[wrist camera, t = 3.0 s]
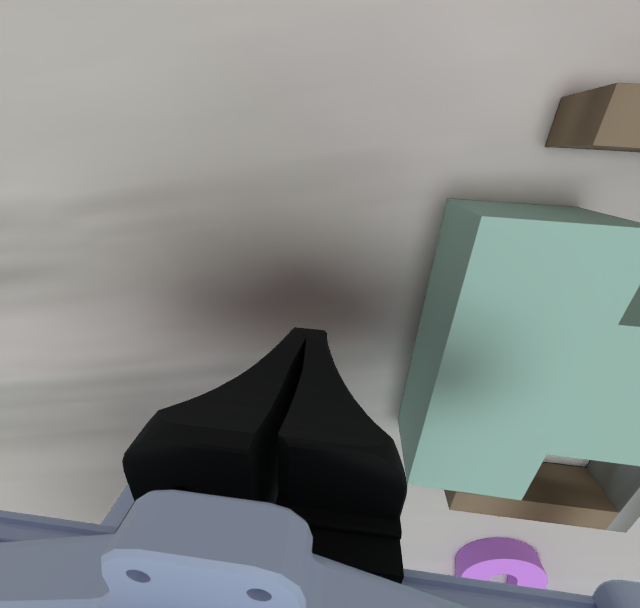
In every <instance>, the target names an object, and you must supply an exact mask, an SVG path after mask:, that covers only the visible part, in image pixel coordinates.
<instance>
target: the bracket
mask: <svg viewBox="0 0 640 608" xmlns="http://www.w3.org/2000/svg"><path fill="white" fill-rule="evenodd" d="M498 574H508V576H507V583H506V584H512V585H519V586H525V587H532V588H539V589H546V586H547V581H548V579H547V575H546V573H545V571H544V568H543V566H542V564H541V562H540V560H539V557H538V555H537V553H536V551H535V550H534V549H533V548H532V547H531V546H529V545H528V544H526V543H524V542H521V541H518V540H514V539H509V538H486V539H481V540H477V541H474V542H471V543H469V544H467V545H465V546H464V547H462V548H461V549H460V550H459V551H458V553H457V555H456V558H455V576H457V577H463V578H470V579H477V580H484V581H489V579H490V578H491V577H492V576H494V575H498Z"/></svg>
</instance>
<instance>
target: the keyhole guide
mask: <svg viewBox="0 0 640 608" xmlns="http://www.w3.org/2000/svg"><path fill="white" fill-rule="evenodd" d="M545 147H559V148H576V149H594V150H611V151H628V152H640V84H630V83H615V84H611V85H608V86H604V87H600V88H596V89H592V90H588V91H585V92H581V93H577V94H573V95H569V96H566V97H562V98H561V101H560V104H559V107H558V110H557V113H556V116H555V119H554V122H553V125H552V128H551V131H550V134H549V137H548V140H547V143H546V146H545ZM444 491H445V495H446V499H447V502H448V506H449V510H456V511H464V512H472V513H480V514H487V515H495V516H503V517H510V518H518V519H526V520H533V521H541V522H549V523H556V524H564V525H572V526H579V527H587V528H595V529H602V530H610V531H618V532H625V533H626V532H627V531H628V530H629V528H630V527H631V526H632V525H633V524H634V522H635V521H636V520H637V519H638V518H639V517H640V466H634V465H626V464H618V463H611V462H603V461H595V460H591V461H590V462H589V464H588V465H587V467H577V466H569V465H561V464H552V463H544V462H542V464H541V466H540V468H539V469H538V471H537V473H536V475H535V477H534V478H533V480H532V482H531V484H530V486H529V488H528V489H527V491H526V493H525V495H524V497H523V498H522V500H515V499H508V498H501V497H494V496H486V495H479V494H472V493H465V492H458V491H451V490H444Z"/></svg>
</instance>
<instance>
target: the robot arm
mask: <svg viewBox="0 0 640 608" xmlns="http://www.w3.org/2000/svg"><path fill="white" fill-rule="evenodd" d="M122 462H123V468H124V473H125V476H126V479H127V482H128V485H127V487H126V488H125V490H124V491H123V493H122V494H121V495H120V497H119V498H118V500H117V501H116V503H115V504H114V506H113V507H112V509H111V510H110V512H109V513H108V515H107V516H106V518H105V519H104V521H103V522H102V523H101V525H99V524H92V523H85V522H78V521H71V520H64V519H57V518H50V517H44V516H37V515H30V514H23V513H16V512H9V511H2V510H0V608H640V583H639V582H632V581H625V580H610V581H606V582H604V583H602V584H601V585H599V586H598V588H597V589H596V591H595V592H594V594H593V596H587V595H580V594H574V593H567V592H560V591H553V590H546V589H539V588H532V587H525V586H519V585H512V584H505V583H498V582H491V581H484V580H477V579H470V578H463V577H457V576H450V575H443V574H436V573H429V572H422V571H415V570H408V569H403V563H402V554H401V546H400V539H401V534H402V531H401V523H400V515H401V512H402V508H403V505H404V501H405V498H406V494H407V481H406V476H405V472H404V468H403V465H402V462H401V459H400V456H399V453H398V450H397V448H396V445H395V443H394V441H393V439H392V438H391V437H390V436H389V435H388V434H387V433H386V432H384V431H383V430H382V429H381V428H380V427H379V426H378V425H377V424H375V423H374V422H373V420H372V419H371V418H370V417H369V416H368V415H367V414H366V413H365V412H364V410H363V409H362V408H361V407H360V405H359V404H358V403H357V402H356V400H355V399H354V398H353V396H352V395H351V393H350V392H349V390H348V389H347V387H346V385H345V384H344V382H343V380H342V378H341V376H340V375H339V372H338V370H337V368H336V366H335V364H334V361H333V358H332V356H331V353H330V350H329V346H328V342H327V333H326V332H325V330H315V329H304V328H294V329H292V330H291V332H290V333H289V334H288V335H287V336H286V337H285V338H284V339H283V340H282V341H281V342H280V343H279V344H278V345H277V346H276V347H275V348H274V349H273V350H272V351H271V352H270V353H268V354H267V355H266V356H265V357H264V358H262V359H261V360H260V361H259V362H258V363H256V364H255V365H254V366H252V367H251V368H250V369H248V370H247V371H245V372H244V373H242V374H241V375H239V376H238V377H236V378H234V379H232V380H231V381H229V382H227V383H225V384H223V385H221V386H220V387H218V388H216V389H214V390H211V391H209V392H207V393H205V394H202V395H200V396H198V397H195V398H193V399H190V400H188V401H185V402H182V403H179V404H176V405H173V406H170V407H167V408H164V409H161V410H158V411H157V413H156V414H155V415H154V416H153V417H152V418H151V419H150V421H149V422H148V423H147V424H146V425H145V427H144V428H143V429H142V431H141V432H140V433H139V435H138V436H137V437H136V439H135V440H134V441H133V443H132V444H131V445H130V447H129V448H128V449H127V451H126V452H125V454H124V457H123V461H122Z"/></svg>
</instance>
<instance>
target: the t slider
mask: <svg viewBox="0 0 640 608" xmlns="http://www.w3.org/2000/svg"><path fill="white" fill-rule="evenodd" d="M639 285H640V223H639V222H635V221H631V220H627V219H623V218H619V217H615V216H611V215H607V214H603V213H599V212H595V211H591V210H587V209H583V208H579V207H565V206H550V205H536V204H521V203H507V202H492V201H478V200H463V199H449V198H448V199H447V203H446V207H445V212H444V216H443V221H442V225H441V230H440V234H439V239H438V243H437V247H436V252H435V256H434V261H433V265H432V270H431V274H430V279H429V283H428V287H427V292H426V296H425V301H424V305H423V310H422V314H421V319H420V323H419V327H418V332H417V336H416V341H415V345H414V350H413V354H412V359H411V363H410V367H409V372H408V376H407V381H406V385H405V390H404V394H403V399H402V403H401V407H400V412H399V416H398V424H399V431H400V438H401V444H402V451H403V458H404V465H405V472H406V479H407V484H408V485H415V486H423V487H430V488H437V489H444V490H451V491H458V492H465V493H472V494H479V495H486V496H494V497H501V498H508V499H515V500H522V498H523V497H524V495H525V493H526V491H527V489H528V488H529V486H530V484H531V482H532V480H533V478H534V477H535V475H536V473H537V471H538V469H539V468H540V466H541V464H542V462H543V460H544V458H545V457H546V455H547V454H549V455H556V456H564V457H572V458H580V459H587V460H595V461H603V462H611V463H618V464H626V465H634V466H640V287H639Z"/></svg>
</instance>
